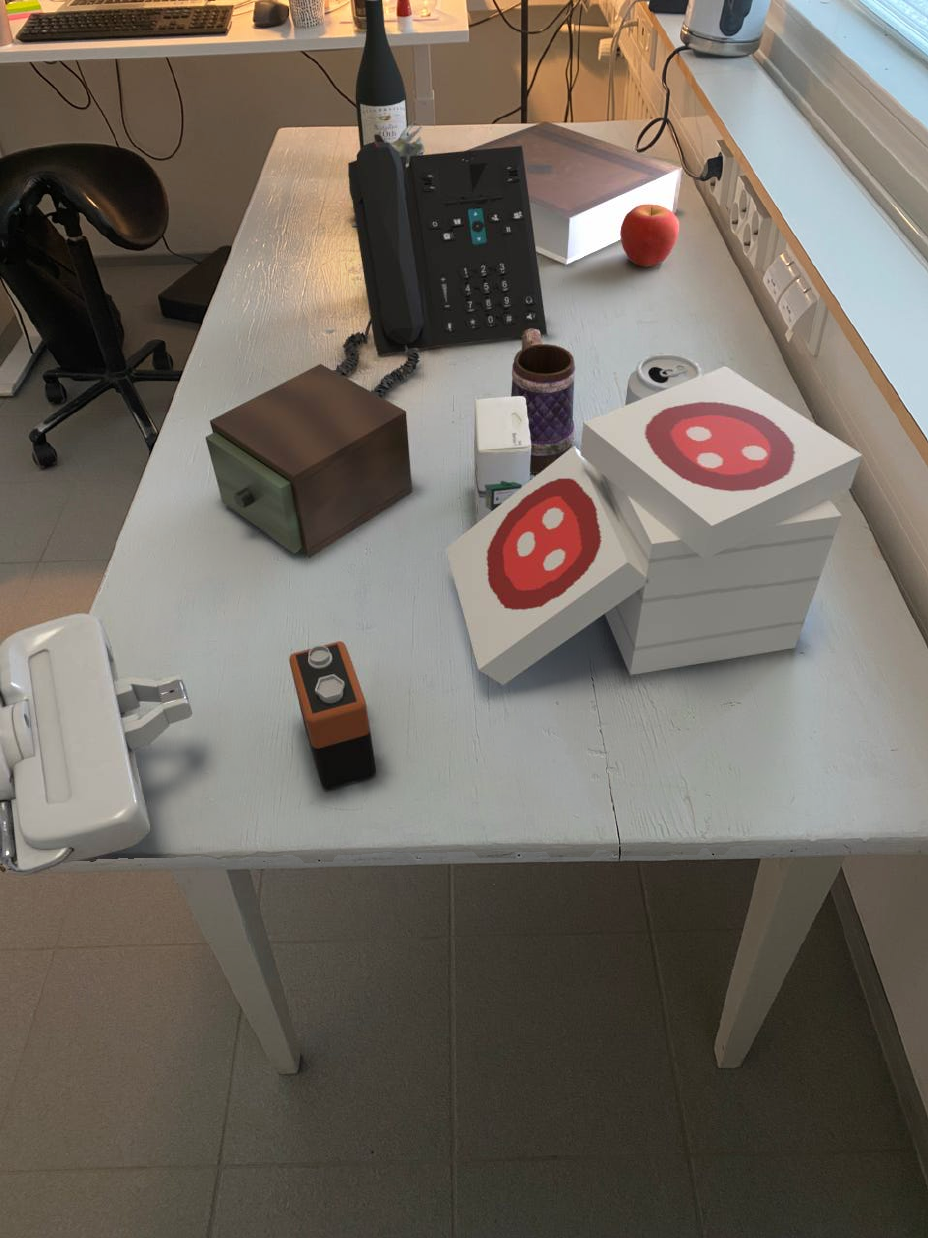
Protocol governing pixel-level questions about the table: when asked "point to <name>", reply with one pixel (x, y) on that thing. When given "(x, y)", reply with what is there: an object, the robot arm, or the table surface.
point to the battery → (333, 714)
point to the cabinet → (326, 450)
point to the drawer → (255, 491)
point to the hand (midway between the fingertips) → (187, 694)
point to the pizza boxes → (661, 534)
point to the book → (585, 187)
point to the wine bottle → (379, 84)
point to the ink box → (500, 451)
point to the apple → (649, 234)
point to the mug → (545, 397)
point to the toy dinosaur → (403, 146)
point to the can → (660, 375)
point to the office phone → (443, 251)
